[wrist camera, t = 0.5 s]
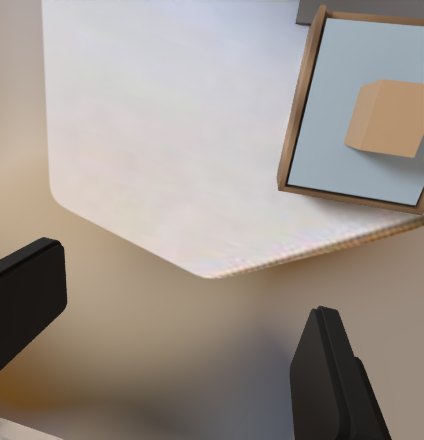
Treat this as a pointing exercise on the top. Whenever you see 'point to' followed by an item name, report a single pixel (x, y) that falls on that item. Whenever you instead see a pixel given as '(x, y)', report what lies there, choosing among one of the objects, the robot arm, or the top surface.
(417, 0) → the mat
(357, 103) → the lid
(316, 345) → the robot arm
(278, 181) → the walnut box
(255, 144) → the top surface
